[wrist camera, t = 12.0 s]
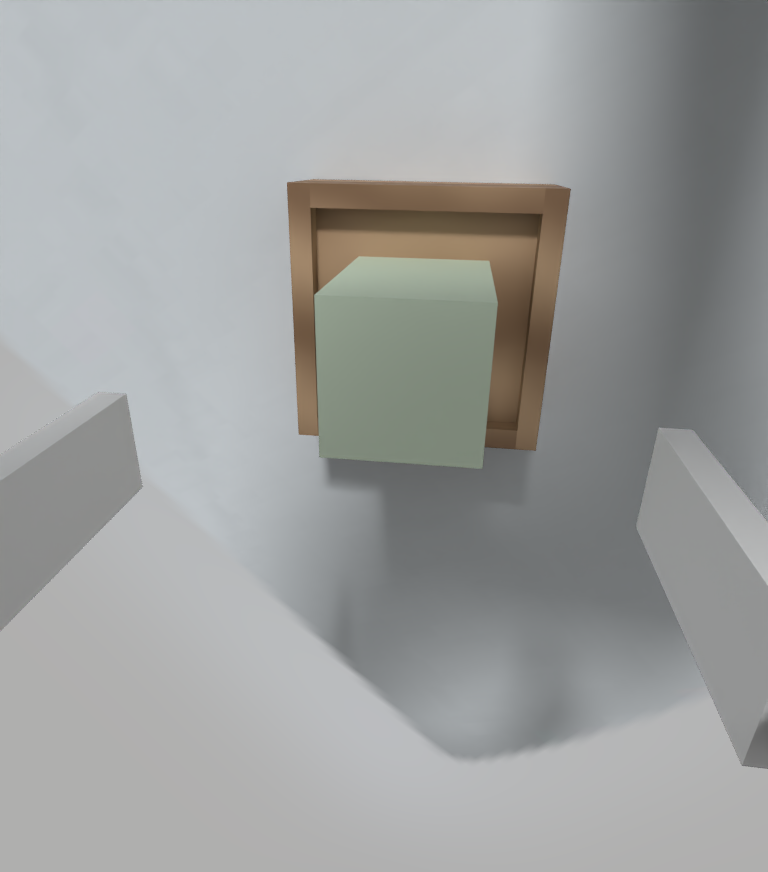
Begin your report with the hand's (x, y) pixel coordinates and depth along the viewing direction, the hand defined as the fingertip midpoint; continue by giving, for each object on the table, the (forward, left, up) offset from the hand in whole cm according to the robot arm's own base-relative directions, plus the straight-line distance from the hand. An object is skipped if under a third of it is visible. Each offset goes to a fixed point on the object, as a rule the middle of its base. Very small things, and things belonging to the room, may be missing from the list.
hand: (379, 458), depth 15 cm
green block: (0, 0, -15) cm, 15 cm away
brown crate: (0, 0, -19) cm, 19 cm away
